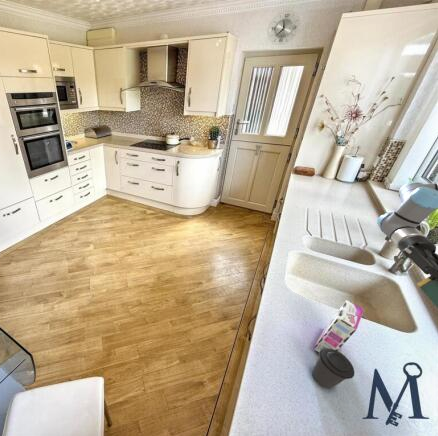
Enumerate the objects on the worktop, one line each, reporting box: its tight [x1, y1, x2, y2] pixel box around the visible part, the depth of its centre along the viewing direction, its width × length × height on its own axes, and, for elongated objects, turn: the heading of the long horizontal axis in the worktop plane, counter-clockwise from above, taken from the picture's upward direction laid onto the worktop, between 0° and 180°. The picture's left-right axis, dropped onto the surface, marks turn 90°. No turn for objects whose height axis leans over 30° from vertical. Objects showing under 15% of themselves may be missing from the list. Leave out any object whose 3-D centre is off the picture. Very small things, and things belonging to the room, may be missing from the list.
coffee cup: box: [311, 348, 355, 390], centre depth 66 cm, size 8×8×10 cm
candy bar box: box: [312, 299, 365, 355], centre depth 74 cm, size 11×5×16 cm, turn 131°
